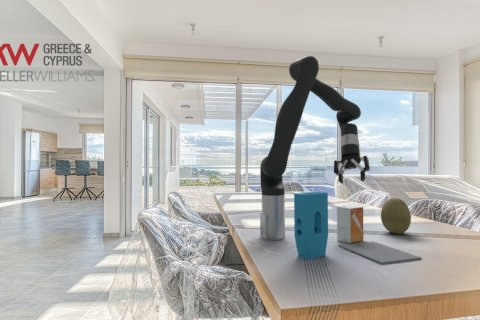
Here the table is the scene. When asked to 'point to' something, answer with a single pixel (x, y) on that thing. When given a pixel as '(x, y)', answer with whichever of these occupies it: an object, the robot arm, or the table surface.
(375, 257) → the mat
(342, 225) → the small box
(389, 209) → the fruit
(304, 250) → the block
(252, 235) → the table surface
